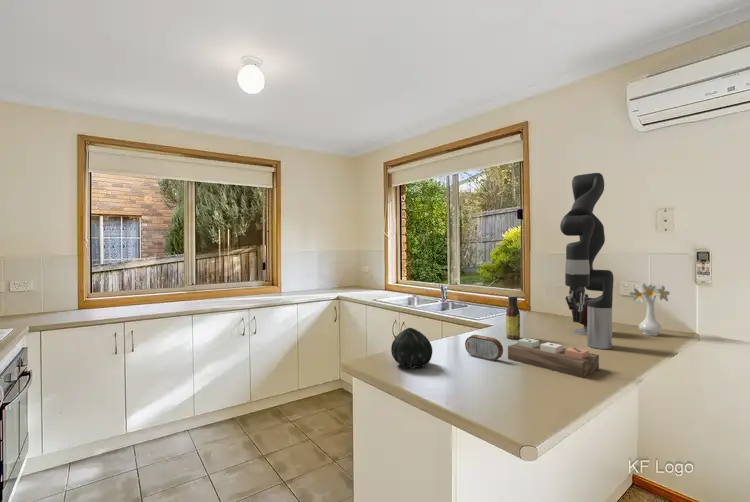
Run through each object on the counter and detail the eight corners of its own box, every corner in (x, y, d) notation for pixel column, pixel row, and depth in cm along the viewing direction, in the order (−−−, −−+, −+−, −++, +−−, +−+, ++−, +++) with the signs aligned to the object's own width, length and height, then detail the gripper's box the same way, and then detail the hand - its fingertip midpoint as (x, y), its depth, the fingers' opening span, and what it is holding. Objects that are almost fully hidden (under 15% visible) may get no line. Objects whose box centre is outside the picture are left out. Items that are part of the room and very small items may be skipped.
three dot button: (572, 356, 137) (572, 346, 137) (588, 360, 132) (588, 349, 132) (565, 359, 133) (565, 349, 133) (581, 363, 129) (581, 352, 129)
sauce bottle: (521, 340, 175) (521, 297, 175) (507, 339, 177) (507, 297, 176) (518, 336, 182) (518, 295, 182) (505, 336, 183) (505, 295, 183)
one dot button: (547, 351, 144) (547, 341, 144) (562, 354, 139) (562, 344, 139) (540, 354, 140) (540, 344, 140) (555, 357, 136) (555, 347, 136)
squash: (423, 342, 149) (402, 316, 145) (446, 353, 136) (423, 325, 131) (399, 370, 145) (376, 344, 140) (420, 384, 132) (395, 356, 127)
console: (526, 352, 155) (527, 340, 155) (598, 369, 134) (598, 355, 134) (507, 359, 146) (507, 346, 146) (581, 377, 125) (581, 362, 125)
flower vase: (625, 334, 187) (625, 283, 187) (646, 330, 195) (646, 281, 195) (655, 339, 175) (655, 286, 175) (675, 335, 184) (676, 284, 184)
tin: (503, 361, 144) (503, 339, 143) (499, 363, 141) (499, 340, 141) (467, 353, 154) (467, 332, 154) (463, 355, 151) (463, 334, 151)
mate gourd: (591, 329, 197) (591, 291, 197) (609, 335, 183) (609, 294, 183) (562, 330, 196) (562, 291, 196) (578, 336, 182) (579, 295, 182)
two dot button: (525, 346, 151) (525, 337, 151) (539, 349, 146) (539, 340, 146) (517, 349, 147) (517, 339, 147) (531, 352, 143) (531, 342, 143)
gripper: (574, 271, 139) (574, 318, 140) (557, 272, 131) (557, 322, 131) (596, 272, 134) (596, 321, 134) (580, 274, 125) (580, 326, 125)
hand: (577, 321), depth 133 cm, fingers closed
